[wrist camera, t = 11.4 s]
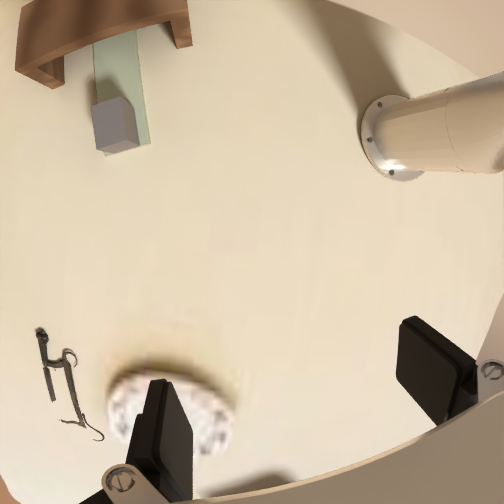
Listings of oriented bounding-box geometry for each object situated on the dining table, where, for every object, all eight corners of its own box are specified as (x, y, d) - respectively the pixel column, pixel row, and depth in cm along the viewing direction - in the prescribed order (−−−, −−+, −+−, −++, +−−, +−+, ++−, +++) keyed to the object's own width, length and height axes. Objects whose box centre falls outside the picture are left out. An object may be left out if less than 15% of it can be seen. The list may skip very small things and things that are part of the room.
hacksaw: (37, 325, 38) (33, 329, 36) (93, 340, 39) (90, 344, 38) (59, 428, 43) (57, 433, 41) (106, 441, 44) (104, 447, 43)
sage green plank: (134, 3, 29) (123, -23, 22) (151, 144, 34) (138, 137, 28) (95, 16, 28) (78, -7, 21) (107, 156, 34) (86, 153, 27)
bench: (184, -9, 29) (179, -50, 19) (192, 45, 31) (187, 7, 22) (52, 33, 27) (21, 7, 18) (52, 89, 30) (14, 70, 20)
